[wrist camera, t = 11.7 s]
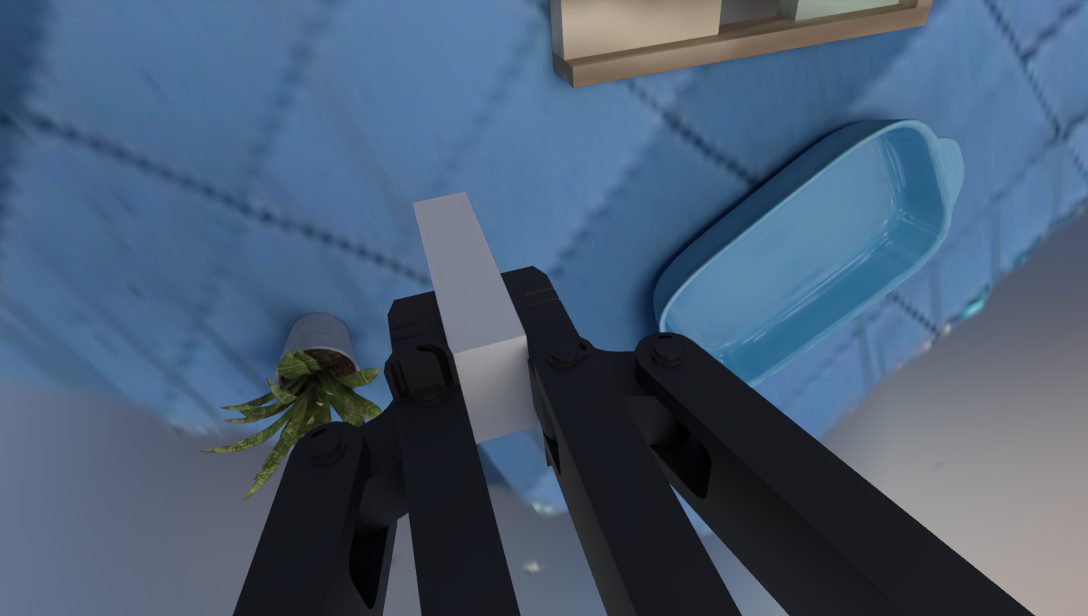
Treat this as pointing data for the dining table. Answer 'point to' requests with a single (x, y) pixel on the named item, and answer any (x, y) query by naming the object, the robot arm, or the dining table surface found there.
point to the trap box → (705, 31)
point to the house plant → (307, 389)
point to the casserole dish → (813, 246)
